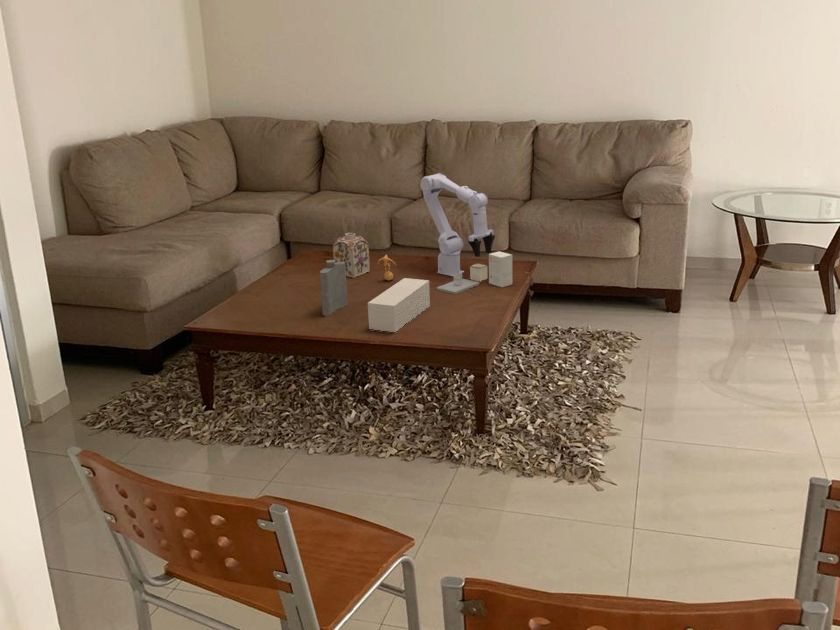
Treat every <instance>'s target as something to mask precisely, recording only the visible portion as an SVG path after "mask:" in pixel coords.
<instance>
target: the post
mask: <svg viewBox="0 0 840 630" xmlns="http://www.w3.org/2000/svg"><path fill="white" fill-rule="evenodd" d="M462 279H463V273H459V272H457V273H454V276H453V281H454V285H455V286H461V285H463V283H462Z"/></svg>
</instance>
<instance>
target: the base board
mask: <svg viewBox="0 0 840 630" xmlns="http://www.w3.org/2000/svg"><path fill="white" fill-rule="evenodd" d="M462 283H463V285H461V286H455V285H454V280H453V281H450V282H447V283H445V284H443V285H439V286H437V287H436V290H437V291H439V290H440V292H444V293H448V294H452V295H457V294H460V293H463V292H465V291H468V290H470V289H472V288H475V287H476V286H477V287H478V286H479V285H480V282H479V281H475V280H470V279H465V278H462ZM474 286H475V287H474ZM469 288H470V289H469Z"/></svg>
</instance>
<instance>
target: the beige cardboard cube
mask: <svg viewBox="0 0 840 630" xmlns="http://www.w3.org/2000/svg"><path fill="white" fill-rule="evenodd" d="M469 273H470V274H469V276H470V277H469V280H470V279H471V281H475V282H479V281H480V282H483V281H486V280H488V265H487V264H483V263H474V264H472V265H470V266H469ZM482 280H483V281H482Z"/></svg>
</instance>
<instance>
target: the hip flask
mask: <svg viewBox="0 0 840 630" xmlns="http://www.w3.org/2000/svg"><path fill="white" fill-rule="evenodd" d="M325 263H326V267H324V268H323V269H321V270H320V271H319V279H320V294H321V295H320V297H321V309H322V316H323V315H330V314H331V313H332V312H334V311H335V310H337V309H339V308H341V307H343V308H345V307H347V306H348V305H349V303H348V288H347V285H348V284H347V277H346V268H345V262H337V263H336V262H335V260H334V259H329V260H328V259H327V260H326V262H325ZM346 305H347V306H346ZM344 306H345V307H344ZM341 309H342V308H341ZM339 310H340V309H339ZM337 311H338V310H337ZM335 312H336V311H335ZM335 312H334V313H335ZM331 315H332V314H331ZM331 315H330V316H331Z"/></svg>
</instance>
